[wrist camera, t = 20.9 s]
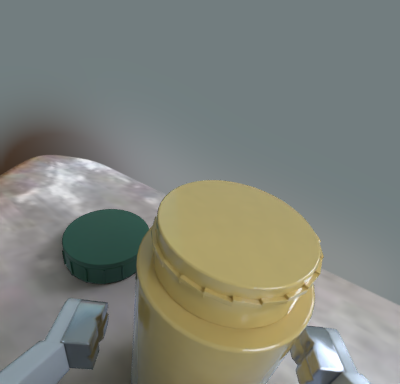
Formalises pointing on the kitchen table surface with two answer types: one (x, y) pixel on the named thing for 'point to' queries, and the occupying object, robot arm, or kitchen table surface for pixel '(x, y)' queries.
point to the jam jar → (221, 286)
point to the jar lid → (103, 245)
